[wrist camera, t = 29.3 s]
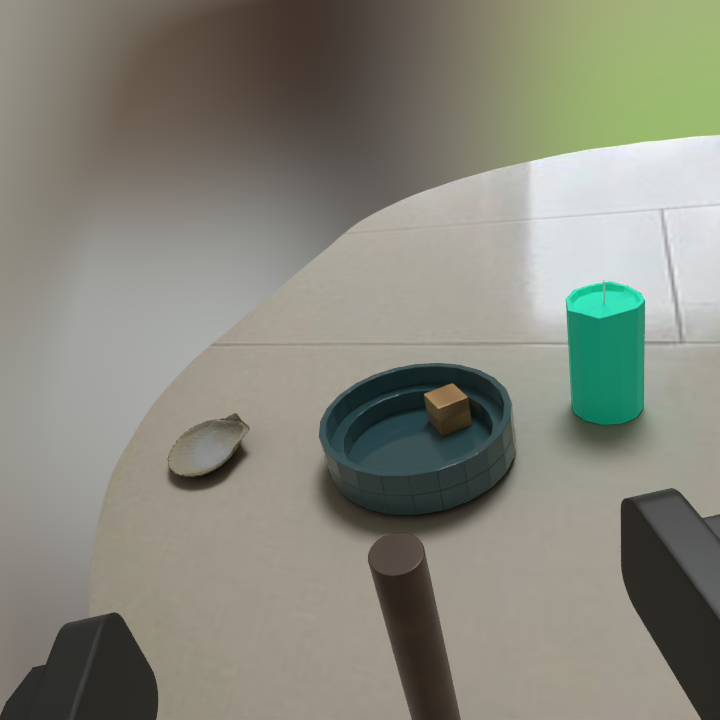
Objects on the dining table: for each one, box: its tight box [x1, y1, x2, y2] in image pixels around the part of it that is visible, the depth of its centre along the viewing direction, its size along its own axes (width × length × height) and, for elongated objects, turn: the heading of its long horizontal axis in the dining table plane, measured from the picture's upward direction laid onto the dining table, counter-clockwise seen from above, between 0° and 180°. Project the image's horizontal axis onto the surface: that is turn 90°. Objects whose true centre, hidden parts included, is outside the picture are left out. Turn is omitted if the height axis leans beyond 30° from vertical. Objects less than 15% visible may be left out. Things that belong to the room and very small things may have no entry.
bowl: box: [319, 363, 516, 515], centre depth 54 cm, size 16×16×4 cm
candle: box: [566, 281, 645, 425], centre depth 53 cm, size 6×6×12 cm
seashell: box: [168, 413, 249, 478], centre depth 60 cm, size 8×3×8 cm
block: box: [424, 383, 472, 436], centre depth 56 cm, size 3×3×3 cm
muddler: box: [368, 533, 461, 720], centre depth 28 cm, size 4×4×16 cm
